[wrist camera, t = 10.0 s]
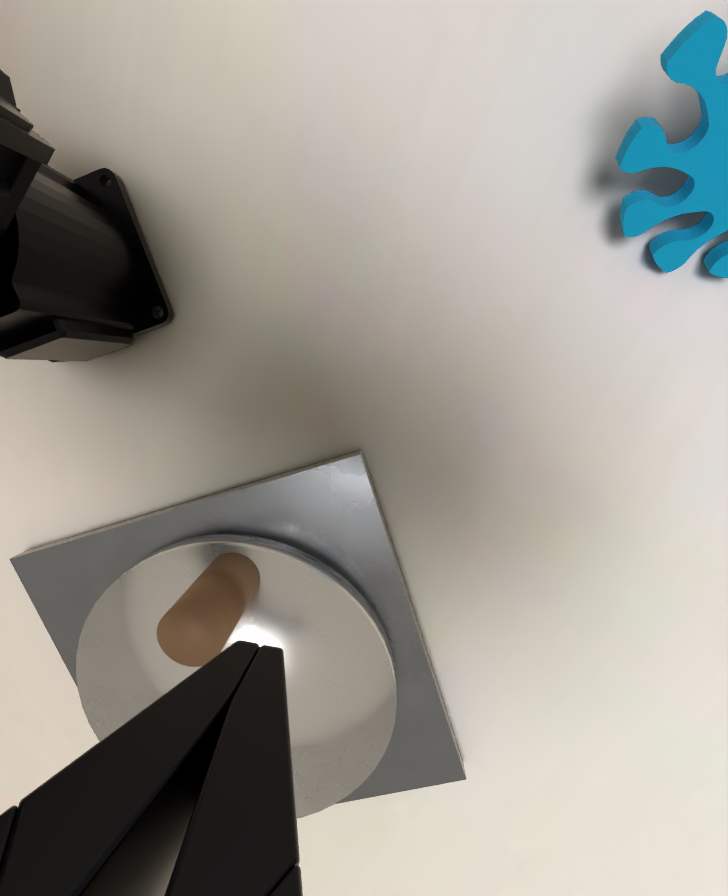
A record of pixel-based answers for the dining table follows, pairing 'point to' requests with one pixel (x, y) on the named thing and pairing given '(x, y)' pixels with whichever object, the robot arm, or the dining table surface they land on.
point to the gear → (685, 155)
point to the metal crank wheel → (255, 620)
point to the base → (295, 524)
